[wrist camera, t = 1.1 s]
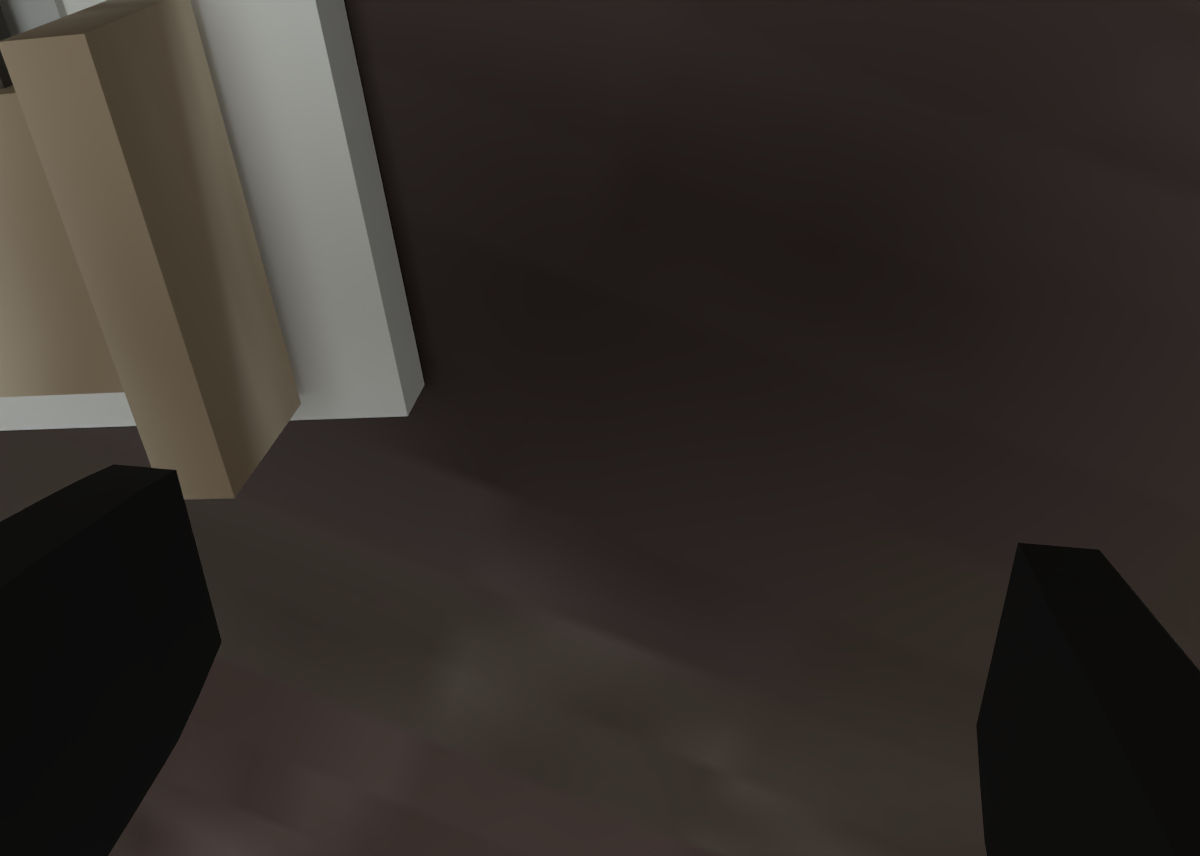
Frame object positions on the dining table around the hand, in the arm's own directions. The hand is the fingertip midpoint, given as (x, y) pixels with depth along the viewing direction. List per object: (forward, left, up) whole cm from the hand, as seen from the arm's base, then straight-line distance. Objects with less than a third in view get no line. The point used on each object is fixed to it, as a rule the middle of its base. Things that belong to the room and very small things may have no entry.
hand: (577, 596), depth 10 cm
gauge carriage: (-9, +2, -9) cm, 13 cm away
